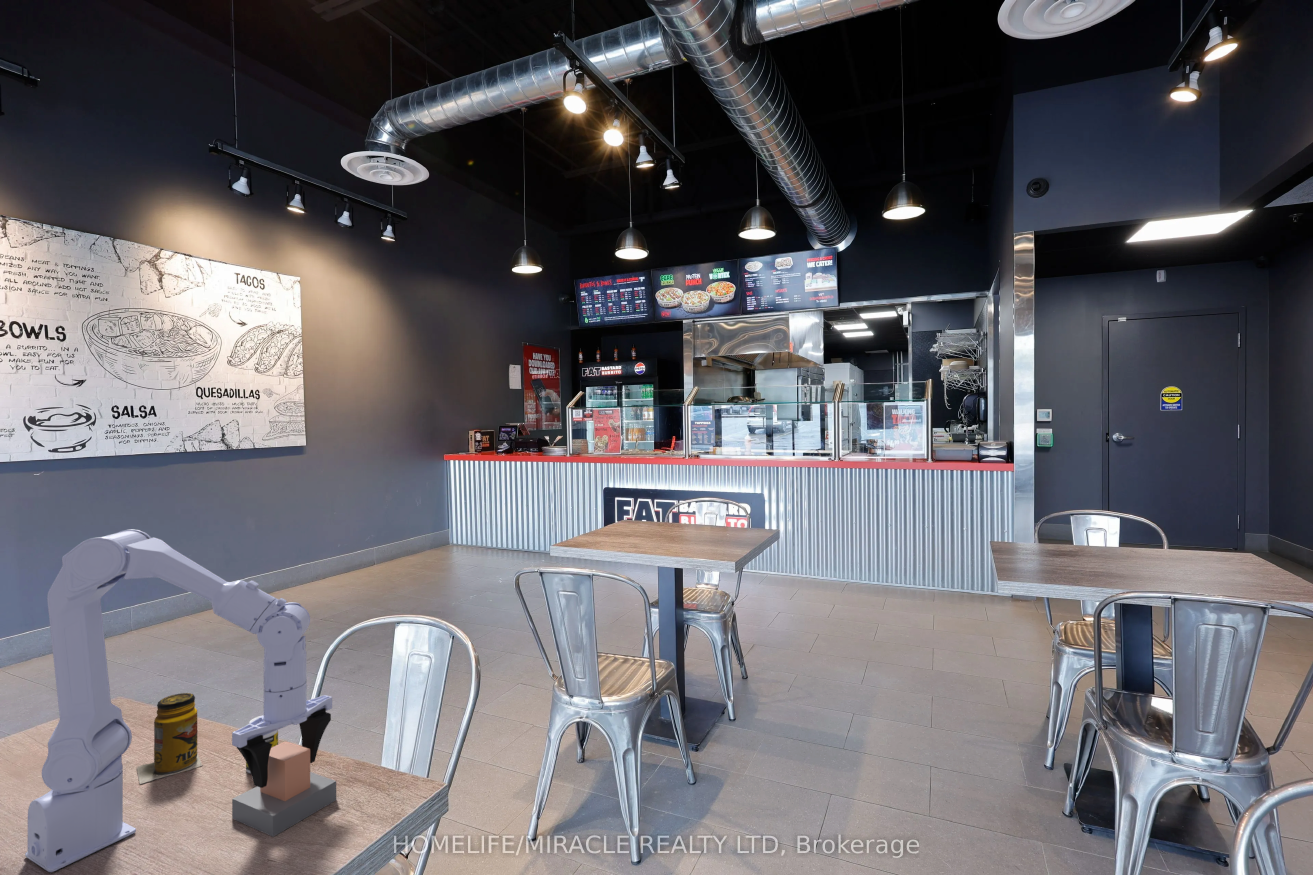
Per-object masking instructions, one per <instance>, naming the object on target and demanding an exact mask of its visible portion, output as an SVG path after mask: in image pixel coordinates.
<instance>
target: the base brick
mask: <svg viewBox="0 0 1313 875" xmlns="http://www.w3.org/2000/svg"><path fill="white" fill-rule="evenodd" d="M231 800H232V802H231V804H232V805H231V812H232V813H231V818H232V819H233V820H234V821H237V822H238V823H242V824H244V825H245V826H248V827H250V828H253V829H254V830H257V831H259V832H261V833H263V834H266V835H268V836H270V837H275V836H277V835H278V834H280V833H282V832H284V831H286V830H287V829H289V828H291V827H292V826H294V825H296V824H297V823H300V822H301V821H302V820H305V819H306V818H307V817H309V816H311V815H313V814H315V813H317V812H319V811H320V810H321V809H324V808H325V807H327V806H329V805H331V804H332V803H333V802H335V801H337V780H335V779H332V778H330V777H329V778H328V777H326V776H323V775H320V774H318V773H315V772H312V771H310V788H308V789H307V790H305V791H303V792H301V793H299V794H297V795H296V796H294V797H292V798H290V799H288V800H287V801H283V800H280V799H278V798H275V797H273V796H270V795H267V794H265V793H262V792H260V787H258V786H255V787H253V788H251V789H250V790H247V791H245V792H243V793H241V794H239V795H237V796H234V797H233V798H231Z"/></svg>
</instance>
